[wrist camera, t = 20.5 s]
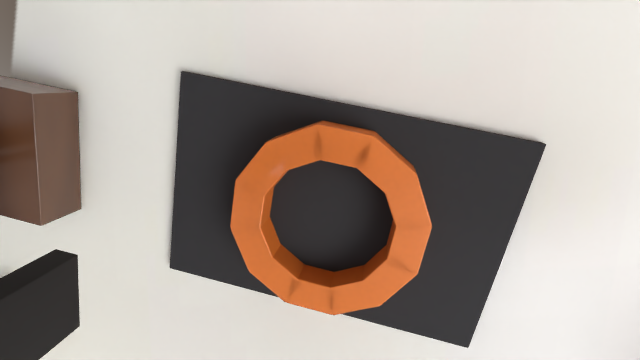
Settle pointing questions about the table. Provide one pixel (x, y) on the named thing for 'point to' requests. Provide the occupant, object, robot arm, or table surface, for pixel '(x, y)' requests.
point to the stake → (38, 151)
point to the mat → (350, 200)
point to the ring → (315, 283)
